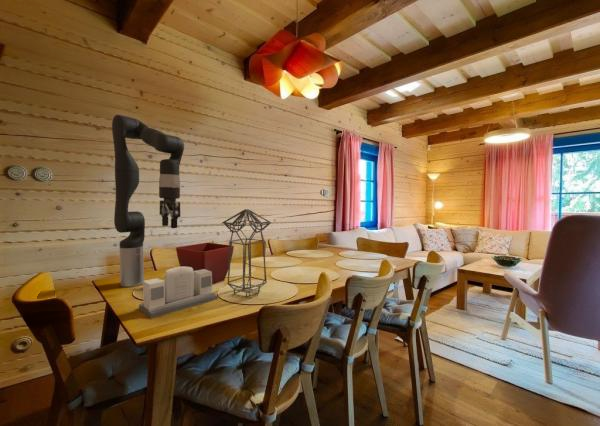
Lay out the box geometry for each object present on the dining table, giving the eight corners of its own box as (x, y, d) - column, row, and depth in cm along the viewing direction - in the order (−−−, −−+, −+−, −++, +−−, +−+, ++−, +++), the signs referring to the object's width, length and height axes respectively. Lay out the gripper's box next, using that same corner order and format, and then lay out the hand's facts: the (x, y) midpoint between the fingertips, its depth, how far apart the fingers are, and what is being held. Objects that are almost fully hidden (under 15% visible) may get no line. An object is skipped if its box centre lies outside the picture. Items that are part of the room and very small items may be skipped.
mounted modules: (143, 306, 98) (142, 280, 98) (204, 290, 115) (204, 269, 115) (150, 311, 94) (149, 284, 94) (212, 294, 111) (212, 271, 110)
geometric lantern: (247, 285, 127) (246, 208, 125) (273, 292, 118) (273, 209, 117) (219, 295, 114) (218, 209, 112) (247, 303, 105) (246, 210, 104)
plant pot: (235, 279, 136) (235, 245, 135) (203, 290, 120) (202, 251, 119) (208, 274, 146) (207, 242, 145) (175, 283, 130) (174, 247, 129)
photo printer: (192, 295, 109) (192, 264, 109) (195, 298, 106) (195, 266, 105) (163, 300, 103) (162, 267, 103) (165, 304, 100) (165, 270, 99)
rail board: (139, 308, 100) (138, 301, 100) (202, 292, 118) (201, 286, 117) (151, 318, 92) (151, 310, 92) (217, 299, 109) (217, 293, 109)
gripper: (152, 185, 113) (152, 225, 114) (167, 185, 104) (167, 229, 105) (171, 186, 119) (171, 224, 120) (187, 186, 109) (186, 228, 110)
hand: (169, 227), depth 112 cm, fingers open, 8 cm apart
